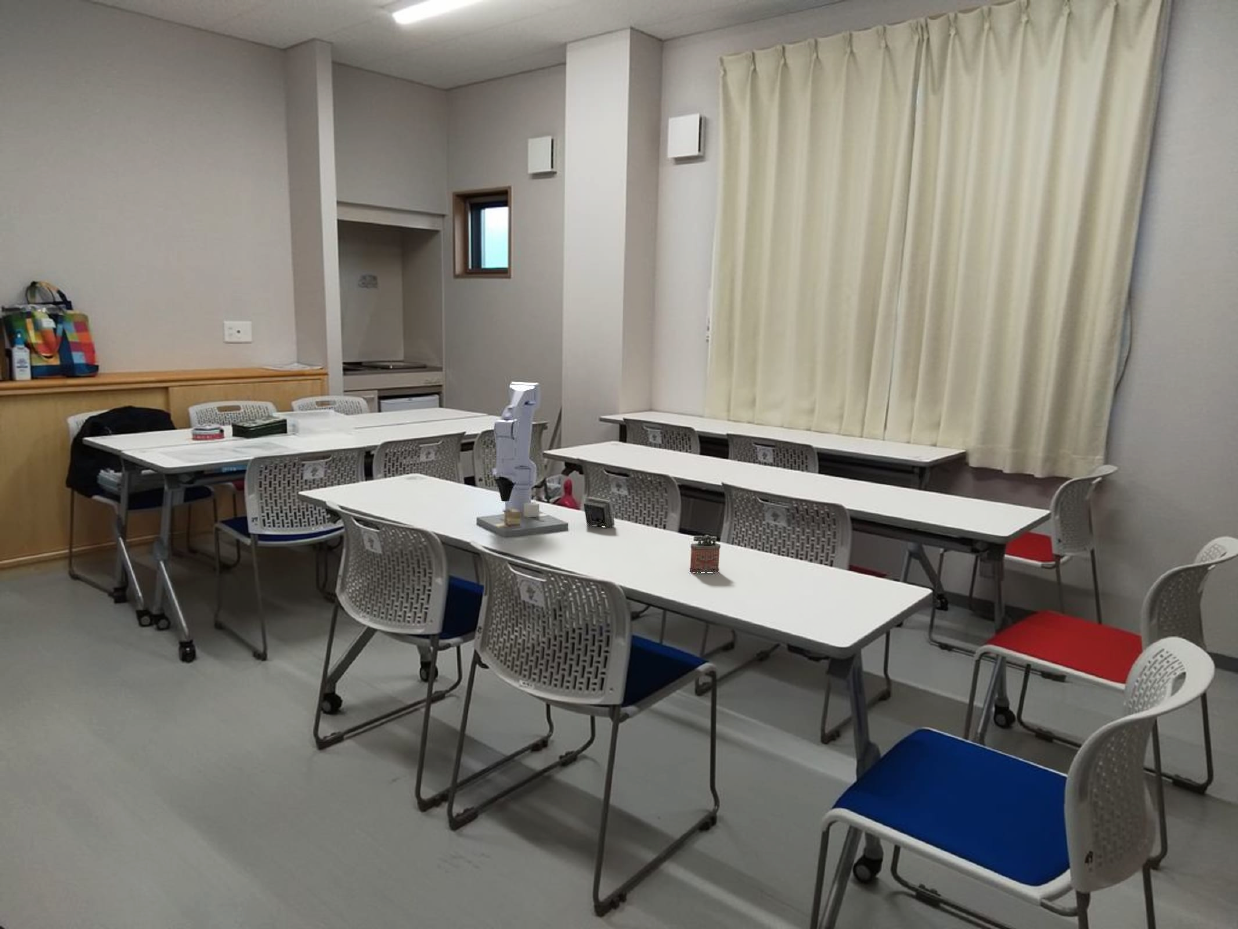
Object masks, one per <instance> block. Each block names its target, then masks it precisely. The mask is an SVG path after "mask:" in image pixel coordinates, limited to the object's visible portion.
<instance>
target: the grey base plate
mask: <svg viewBox="0 0 1238 929" xmlns="http://www.w3.org/2000/svg"><path fill="white" fill-rule="evenodd" d="M477 523H478V524H477ZM476 524H477V525H480V526H481V527H483V526H484V527H483V528H485V529H486V530H489V531H490V532H493V533H495V534H497V535H499V536H501V537H503V538H505V539H507V538H515V537H516V538H517V537H522V536H530V535H535V534H536V535H537V533H538V534H543V533H551V532H558V531H565V530H569V522H567V521H564V520H561V519H559V518H557V517H555V516H553V515H550V514H547V513H545V512H543V511H540V510H539V516H536V517H526V516H524V512H521V524H515V525H507V524H505V513H500V514H493V515H484V516H477V517H476Z"/></svg>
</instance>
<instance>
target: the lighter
mask: <svg viewBox="0 0 1238 929" xmlns="http://www.w3.org/2000/svg"><path fill="white" fill-rule="evenodd" d="M693 541H694V542H695V543H691V544H690V566H689V570H690V572H696V573H697V572H698V573H701V572H705V573H707V572H718V571H719V572H720V568H719V566H720V551H721V550H720V549H721V544H720V543H717V536H714V535H713V536H710V535H709V534H705V535H704V536H703V535H694V536H693ZM690 572H689V573H690Z"/></svg>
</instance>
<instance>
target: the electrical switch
mask: <svg viewBox="0 0 1238 929" xmlns="http://www.w3.org/2000/svg"><path fill="white" fill-rule="evenodd" d="M583 509H584V514H585V515H584V516H585V521H586V525H587V524H588V525H587V526H591V525H599V526H605V527H606V528H605V529H608V528H610V526H613V527H615V517H614V510H613V503H612V500H609V499H604V498H597V497H592V496H588V497H587V498H586V501H585V502H584V503H583Z"/></svg>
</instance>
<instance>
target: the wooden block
mask: <svg viewBox="0 0 1238 929" xmlns="http://www.w3.org/2000/svg"><path fill="white" fill-rule="evenodd" d="M504 514H505V524H507V525H515V524H521V511H519V510H517V509H514V510H505V511H504Z"/></svg>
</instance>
